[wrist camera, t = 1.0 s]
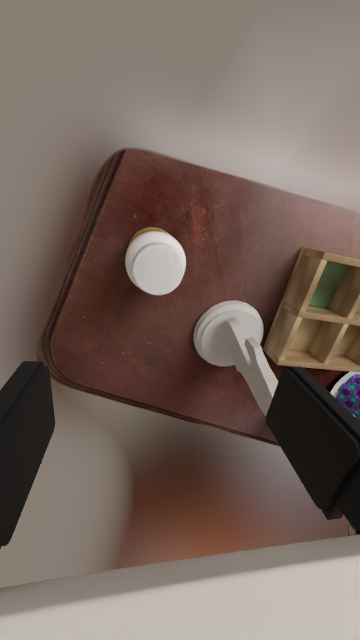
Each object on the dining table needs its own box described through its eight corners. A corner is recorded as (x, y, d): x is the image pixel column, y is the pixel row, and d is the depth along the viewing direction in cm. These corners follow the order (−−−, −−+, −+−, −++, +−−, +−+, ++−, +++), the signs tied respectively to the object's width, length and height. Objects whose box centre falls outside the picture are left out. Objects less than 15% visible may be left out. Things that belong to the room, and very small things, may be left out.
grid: (301, 247, 29) (324, 252, 26) (393, 267, 33) (425, 274, 29) (262, 349, 35) (276, 365, 31) (343, 357, 38) (365, 373, 35)
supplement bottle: (118, 258, 27) (108, 280, 18) (145, 216, 25) (148, 217, 16) (158, 284, 29) (166, 315, 20) (185, 246, 27) (206, 262, 18)
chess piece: (257, 290, 31) (347, 351, 17) (264, 351, 35) (341, 437, 22) (185, 313, 31) (221, 392, 17) (201, 371, 35) (240, 470, 21)
